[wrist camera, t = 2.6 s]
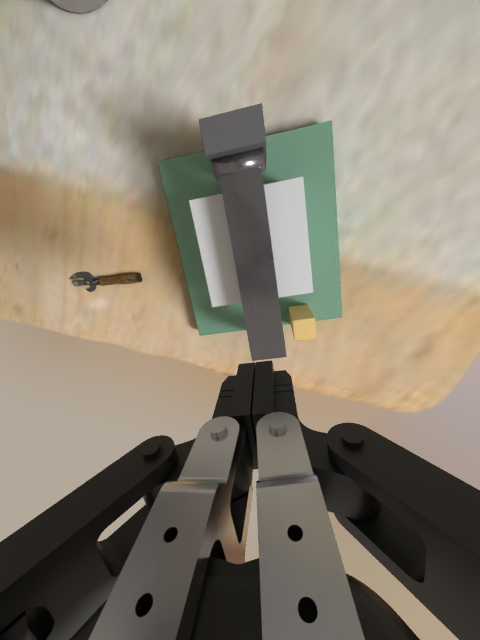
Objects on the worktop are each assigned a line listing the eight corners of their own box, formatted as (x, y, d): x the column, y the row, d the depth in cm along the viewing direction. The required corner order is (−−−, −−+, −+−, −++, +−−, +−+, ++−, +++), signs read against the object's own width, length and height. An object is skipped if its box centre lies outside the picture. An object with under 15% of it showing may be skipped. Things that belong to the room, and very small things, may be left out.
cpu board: (163, 165, 26) (109, 132, 17) (327, 126, 24) (365, 66, 15) (202, 331, 32) (177, 371, 23) (338, 312, 29) (370, 350, 20)
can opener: (142, 272, 30) (138, 273, 29) (145, 291, 31) (140, 293, 30) (70, 270, 31) (63, 272, 30) (74, 289, 32) (67, 292, 31)
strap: (223, 172, 23) (210, 154, 18) (263, 163, 23) (262, 142, 17) (252, 338, 28) (249, 365, 23) (285, 334, 28) (290, 361, 22)
